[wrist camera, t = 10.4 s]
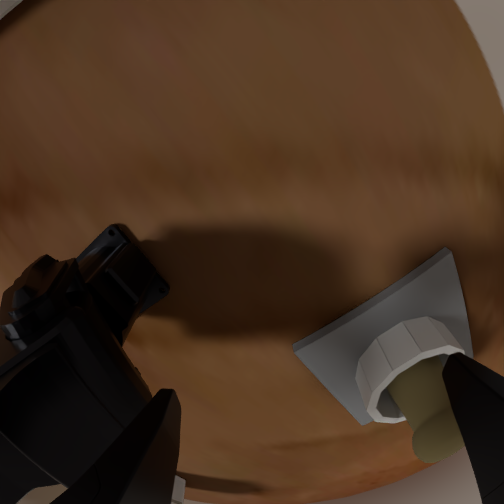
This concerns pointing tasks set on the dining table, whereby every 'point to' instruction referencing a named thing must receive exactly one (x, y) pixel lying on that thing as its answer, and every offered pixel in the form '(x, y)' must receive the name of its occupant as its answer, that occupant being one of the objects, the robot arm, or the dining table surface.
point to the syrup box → (178, 490)
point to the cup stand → (390, 339)
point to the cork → (427, 410)
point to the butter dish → (7, 6)
